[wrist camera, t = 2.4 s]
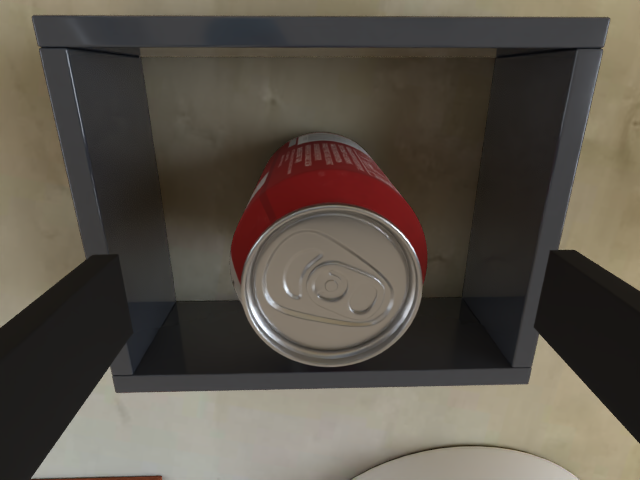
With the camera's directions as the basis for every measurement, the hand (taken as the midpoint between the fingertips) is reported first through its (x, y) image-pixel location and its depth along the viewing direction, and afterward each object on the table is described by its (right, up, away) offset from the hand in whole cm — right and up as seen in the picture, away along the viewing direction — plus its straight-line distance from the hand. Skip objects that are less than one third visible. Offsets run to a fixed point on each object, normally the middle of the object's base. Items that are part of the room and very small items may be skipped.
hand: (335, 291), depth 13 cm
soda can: (-1, +4, +11) cm, 12 cm away
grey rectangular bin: (-1, +4, +11) cm, 12 cm away
